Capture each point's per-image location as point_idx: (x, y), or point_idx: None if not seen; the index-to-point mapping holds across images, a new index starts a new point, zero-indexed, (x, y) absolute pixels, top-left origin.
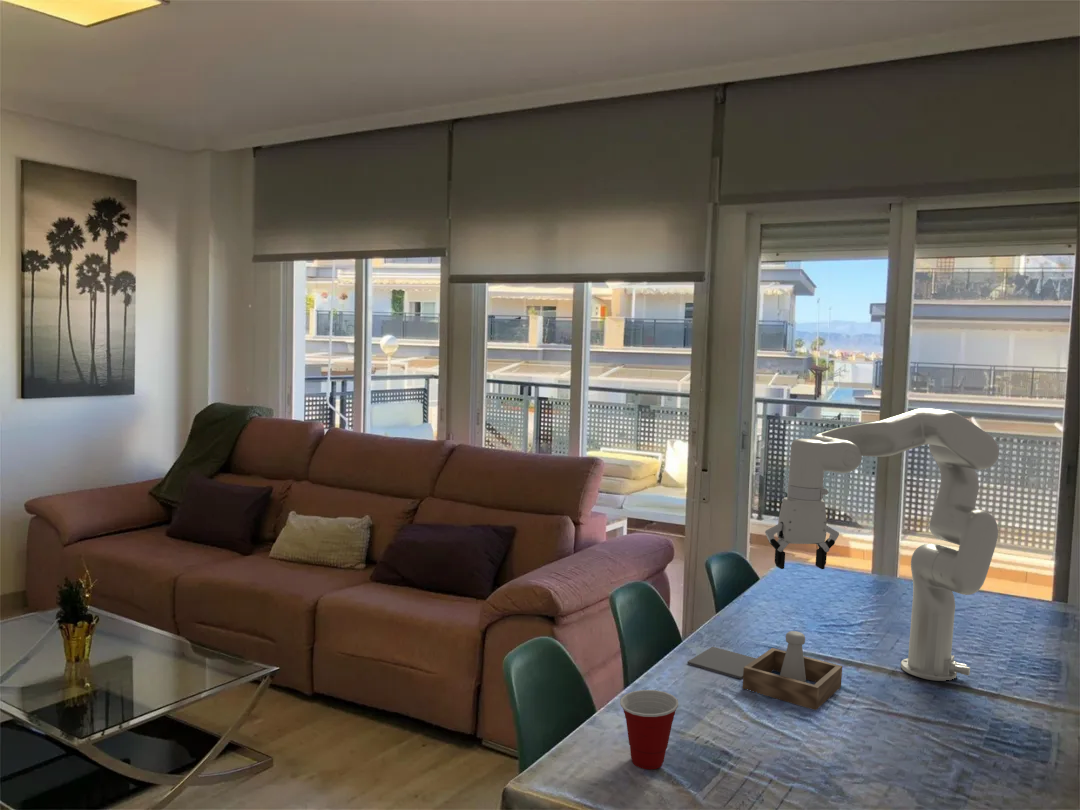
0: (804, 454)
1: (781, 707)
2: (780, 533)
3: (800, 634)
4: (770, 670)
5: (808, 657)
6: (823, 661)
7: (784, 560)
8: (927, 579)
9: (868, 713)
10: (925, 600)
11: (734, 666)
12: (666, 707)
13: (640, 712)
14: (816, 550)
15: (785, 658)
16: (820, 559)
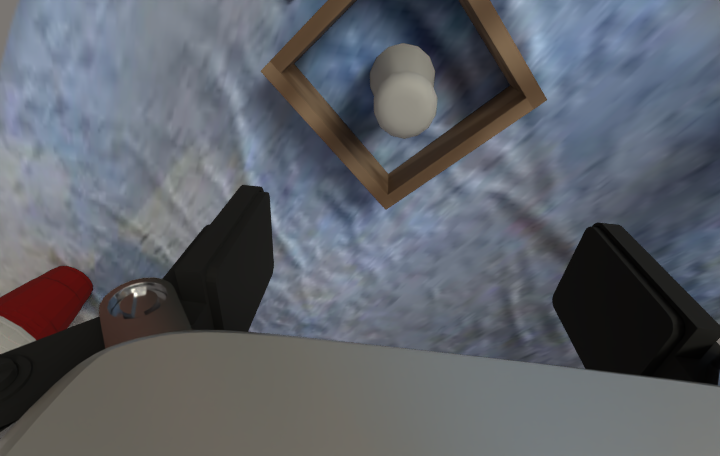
0: None
1: (324, 165)
2: (102, 405)
3: (414, 125)
4: None
5: (496, 17)
6: (518, 58)
7: (253, 312)
8: None
9: (480, 213)
10: None
11: None
12: (39, 324)
13: (9, 297)
14: (669, 320)
15: (377, 87)
16: (589, 334)
